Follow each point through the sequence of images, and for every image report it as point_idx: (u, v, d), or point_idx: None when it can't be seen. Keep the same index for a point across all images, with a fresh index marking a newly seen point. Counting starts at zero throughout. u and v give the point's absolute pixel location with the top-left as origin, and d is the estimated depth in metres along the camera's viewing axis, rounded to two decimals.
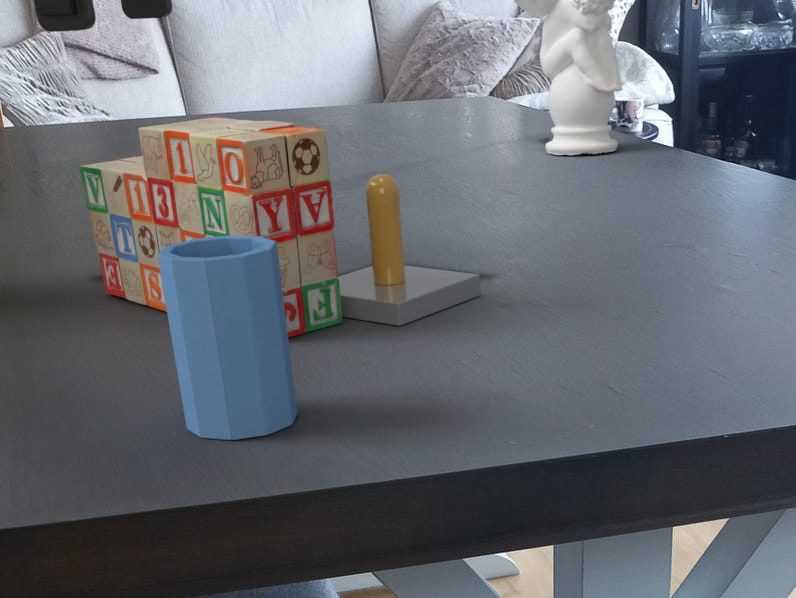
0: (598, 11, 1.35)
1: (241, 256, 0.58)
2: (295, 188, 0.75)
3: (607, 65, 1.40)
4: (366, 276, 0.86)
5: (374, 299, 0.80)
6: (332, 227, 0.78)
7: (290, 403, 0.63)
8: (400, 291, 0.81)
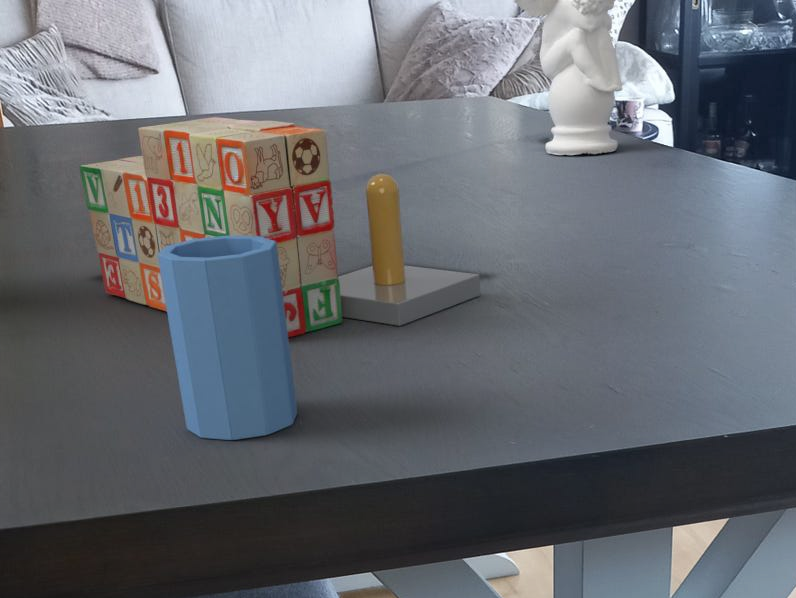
0: (598, 11, 1.35)
1: (241, 256, 0.58)
2: (295, 188, 0.75)
3: (607, 65, 1.40)
4: (366, 276, 0.86)
5: (374, 299, 0.80)
6: (332, 227, 0.78)
7: (290, 403, 0.63)
8: (400, 291, 0.81)
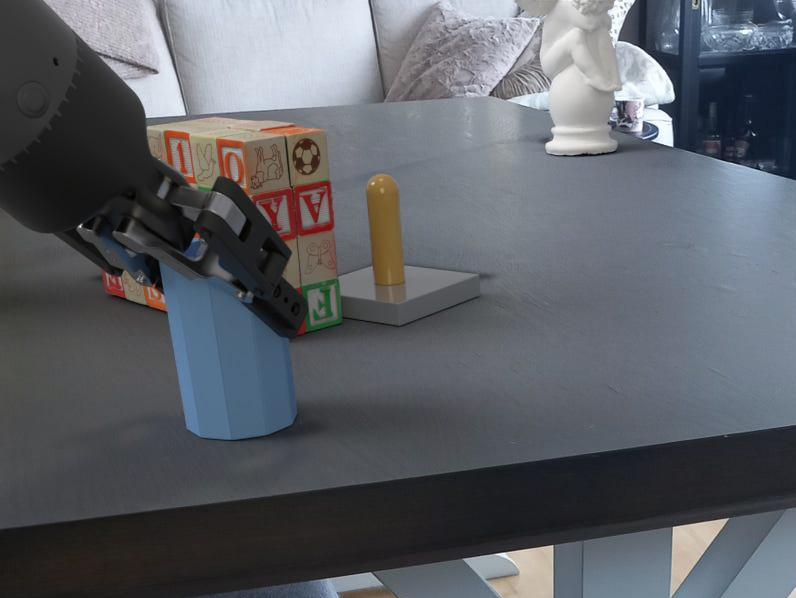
0: (598, 11, 1.35)
1: None
2: (295, 188, 0.75)
3: (607, 65, 1.40)
4: (366, 276, 0.86)
5: (374, 299, 0.80)
6: (332, 227, 0.78)
7: (290, 403, 0.63)
8: (400, 291, 0.81)
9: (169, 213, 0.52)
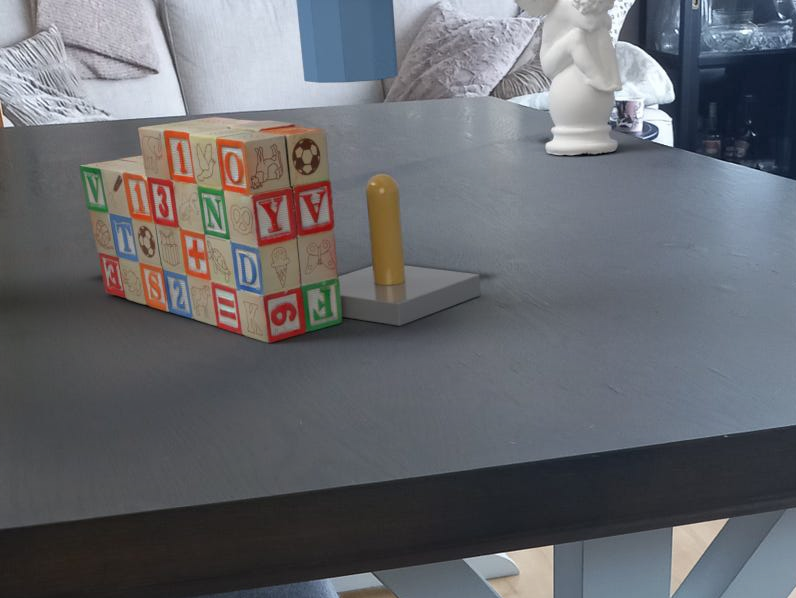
0: (598, 11, 1.35)
1: None
2: (295, 188, 0.75)
3: (607, 65, 1.40)
4: (366, 276, 0.86)
5: (374, 299, 0.80)
6: (332, 227, 0.78)
7: (394, 57, 0.73)
8: (400, 291, 0.81)
9: None
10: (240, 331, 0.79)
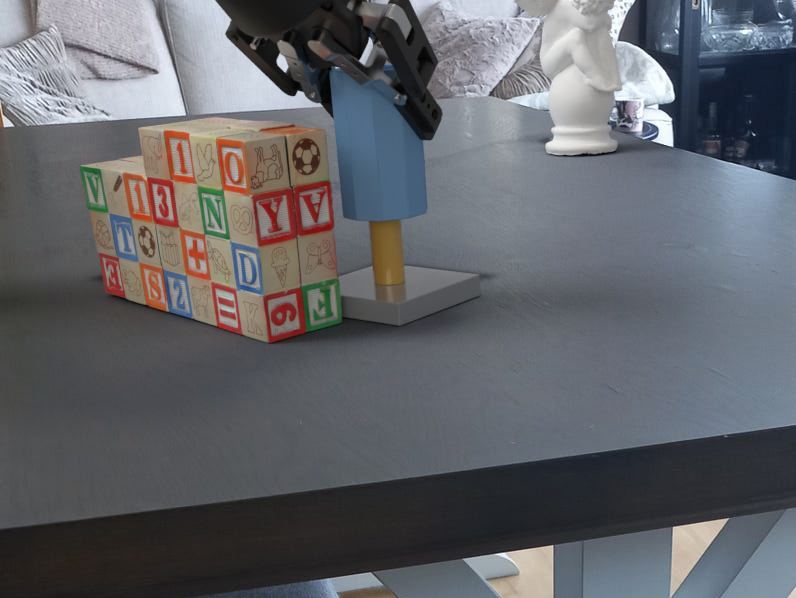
0: (598, 11, 1.35)
1: None
2: (295, 188, 0.75)
3: (607, 65, 1.40)
4: (366, 276, 0.86)
5: (374, 299, 0.80)
6: (332, 227, 0.78)
7: (425, 196, 0.81)
8: (400, 291, 0.81)
9: (355, 22, 0.70)
10: (240, 331, 0.79)
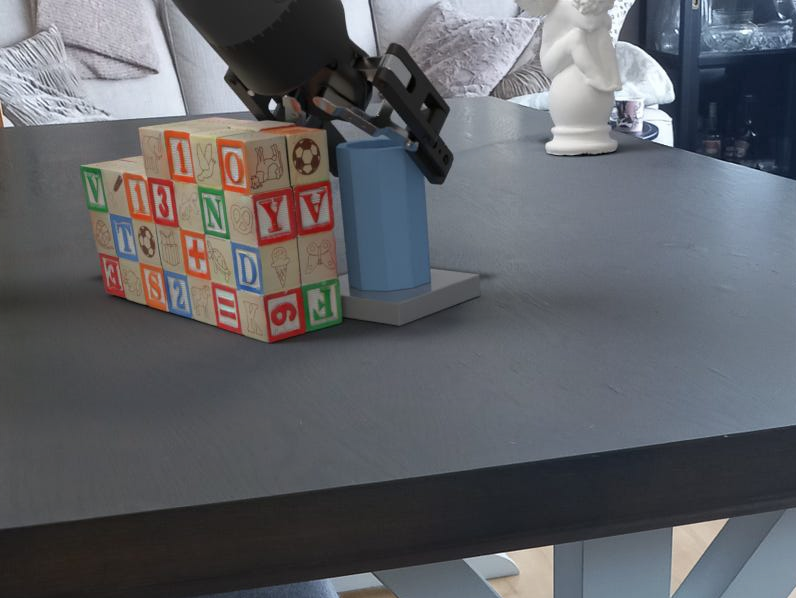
0: (598, 11, 1.35)
1: (401, 147, 0.78)
2: (295, 187, 0.75)
3: (607, 65, 1.40)
4: None
5: (374, 299, 0.80)
6: (332, 227, 0.78)
7: (428, 265, 0.83)
8: (400, 291, 0.81)
9: (359, 81, 0.71)
10: (240, 331, 0.79)
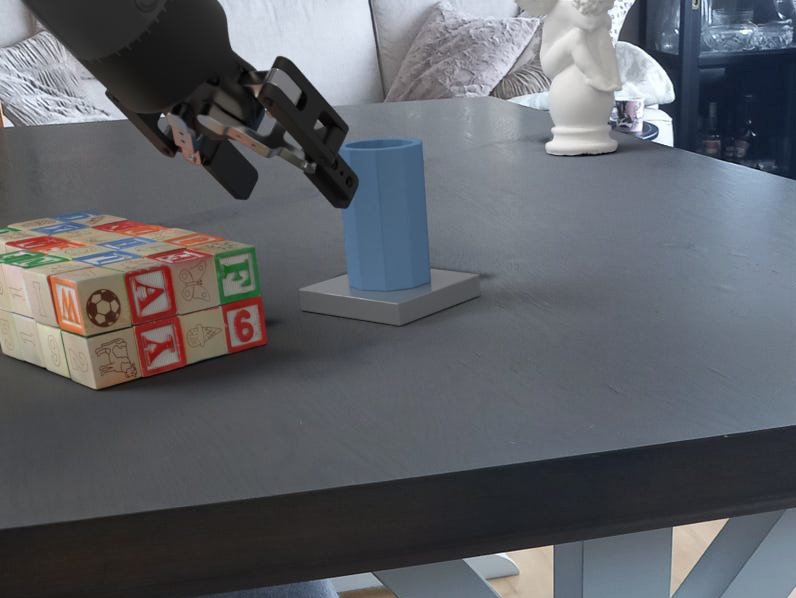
0: (598, 11, 1.35)
1: (401, 147, 0.78)
2: (134, 321, 0.70)
3: (607, 65, 1.40)
4: None
5: (374, 299, 0.80)
6: (167, 267, 0.70)
7: (428, 265, 0.83)
8: (400, 291, 0.81)
9: (245, 97, 0.65)
10: None
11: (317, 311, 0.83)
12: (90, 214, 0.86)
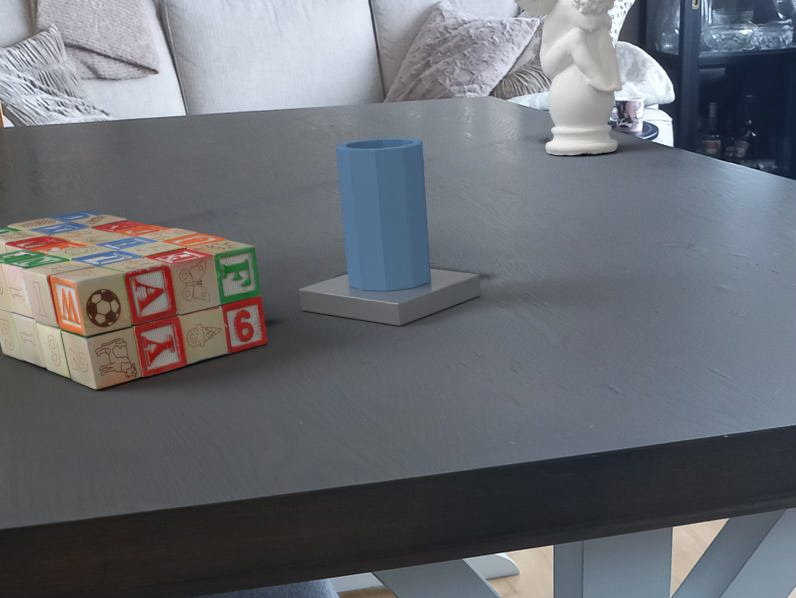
0: (598, 11, 1.35)
1: (401, 147, 0.78)
2: (134, 321, 0.70)
3: (607, 65, 1.40)
4: None
5: (374, 299, 0.80)
6: (167, 267, 0.70)
7: (428, 265, 0.83)
8: (400, 291, 0.81)
9: None
10: None
11: (317, 311, 0.83)
12: (90, 214, 0.86)
